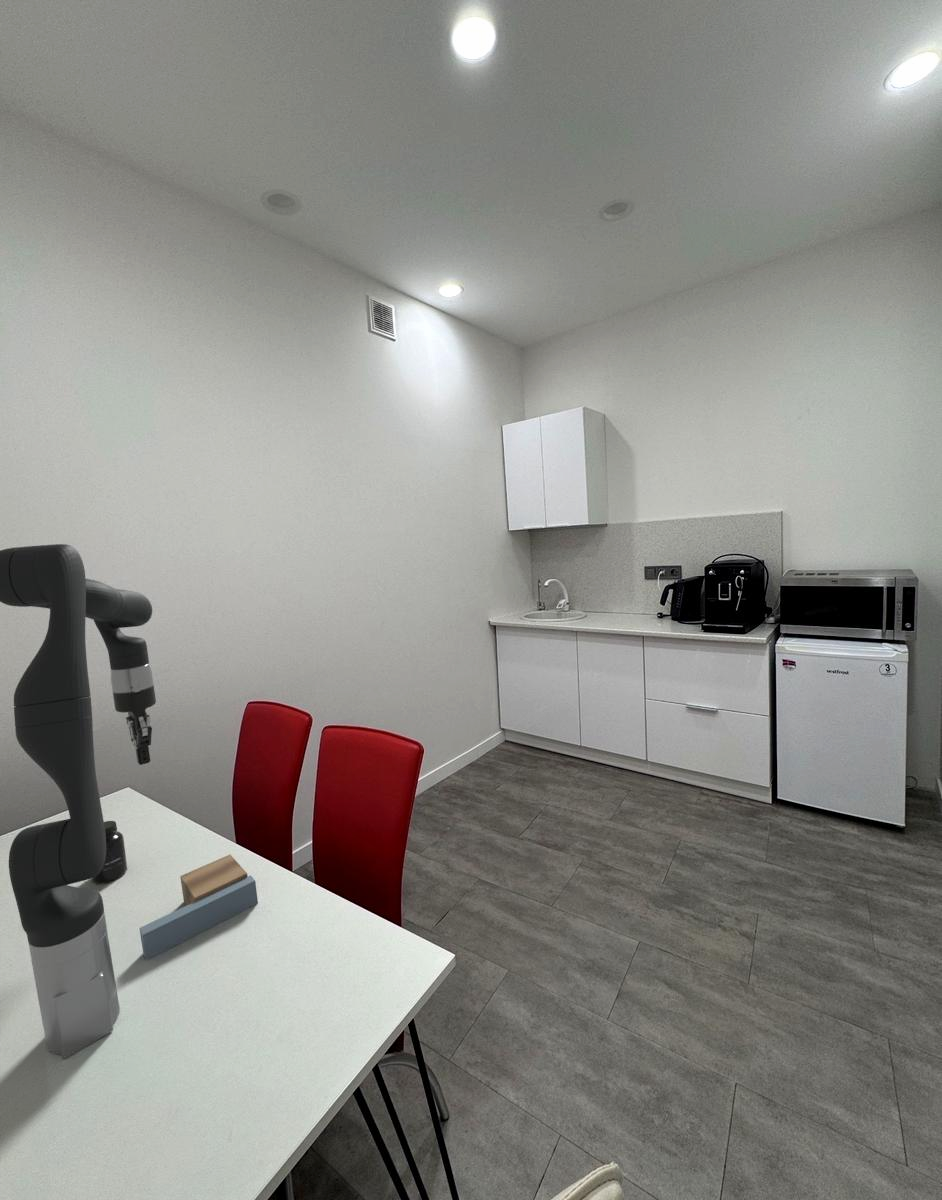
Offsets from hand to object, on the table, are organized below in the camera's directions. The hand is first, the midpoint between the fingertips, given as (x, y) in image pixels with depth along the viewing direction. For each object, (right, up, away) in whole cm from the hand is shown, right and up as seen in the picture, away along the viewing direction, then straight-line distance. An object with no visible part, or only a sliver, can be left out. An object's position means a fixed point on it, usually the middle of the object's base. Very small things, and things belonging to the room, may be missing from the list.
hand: (144, 762), depth 115 cm
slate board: (+20, -28, -14) cm, 37 cm away
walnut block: (+19, -27, -6) cm, 34 cm away
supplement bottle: (-11, -28, +5) cm, 30 cm away
